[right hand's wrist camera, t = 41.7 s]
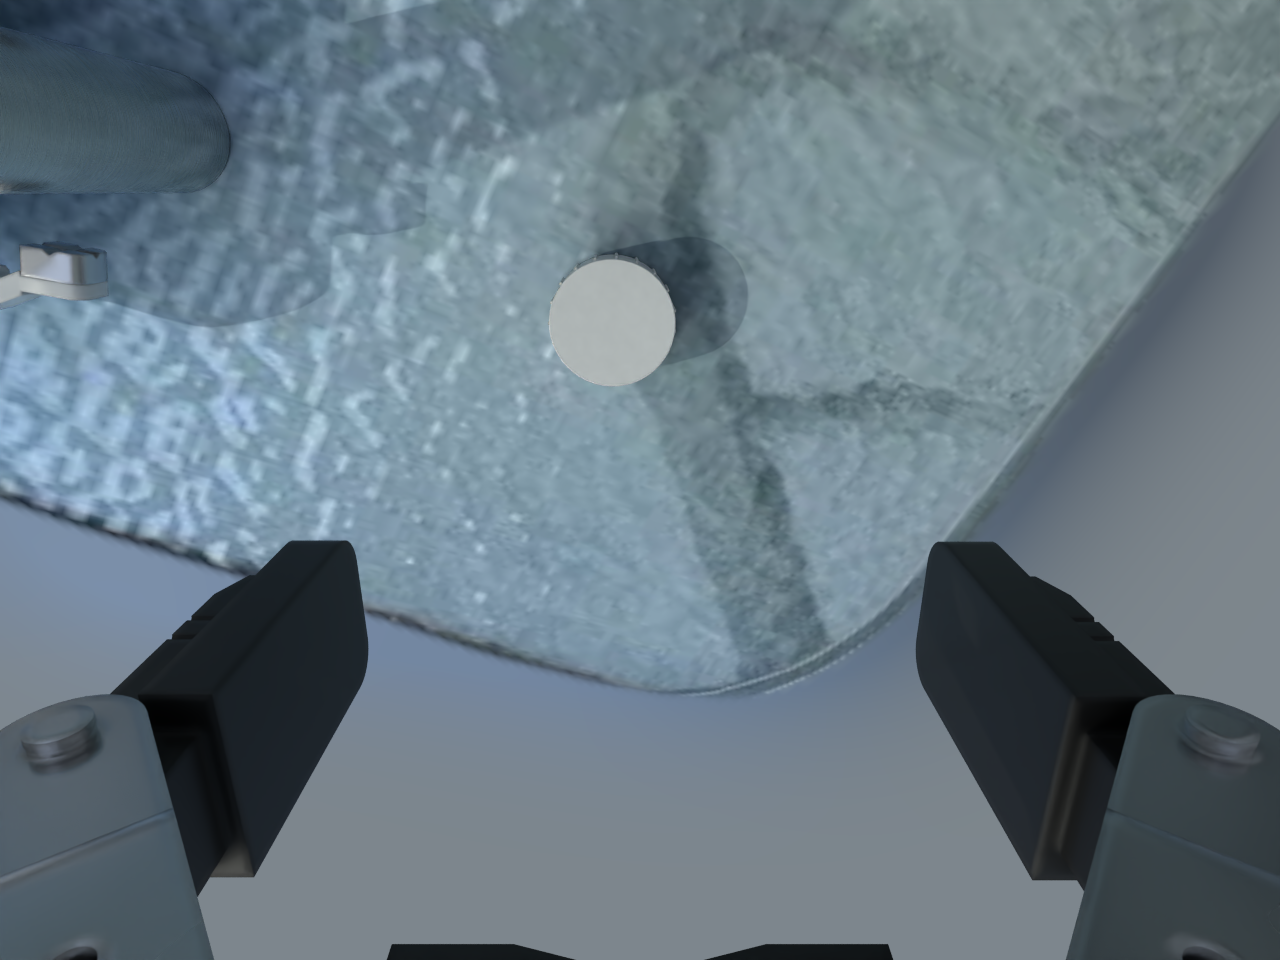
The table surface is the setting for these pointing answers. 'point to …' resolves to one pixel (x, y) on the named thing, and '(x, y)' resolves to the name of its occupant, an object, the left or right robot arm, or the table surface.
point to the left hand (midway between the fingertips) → (90, 119)
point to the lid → (612, 320)
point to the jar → (101, 123)
